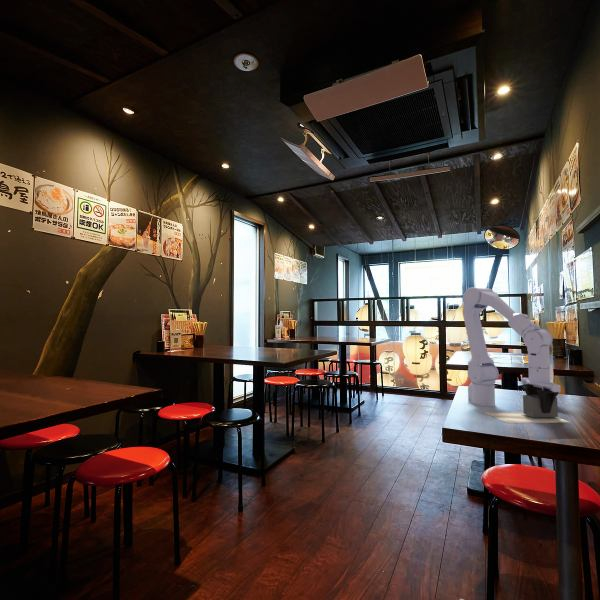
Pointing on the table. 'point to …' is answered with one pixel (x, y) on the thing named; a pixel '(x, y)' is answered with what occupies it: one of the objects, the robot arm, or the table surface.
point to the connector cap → (537, 407)
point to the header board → (523, 418)
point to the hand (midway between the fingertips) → (540, 410)
